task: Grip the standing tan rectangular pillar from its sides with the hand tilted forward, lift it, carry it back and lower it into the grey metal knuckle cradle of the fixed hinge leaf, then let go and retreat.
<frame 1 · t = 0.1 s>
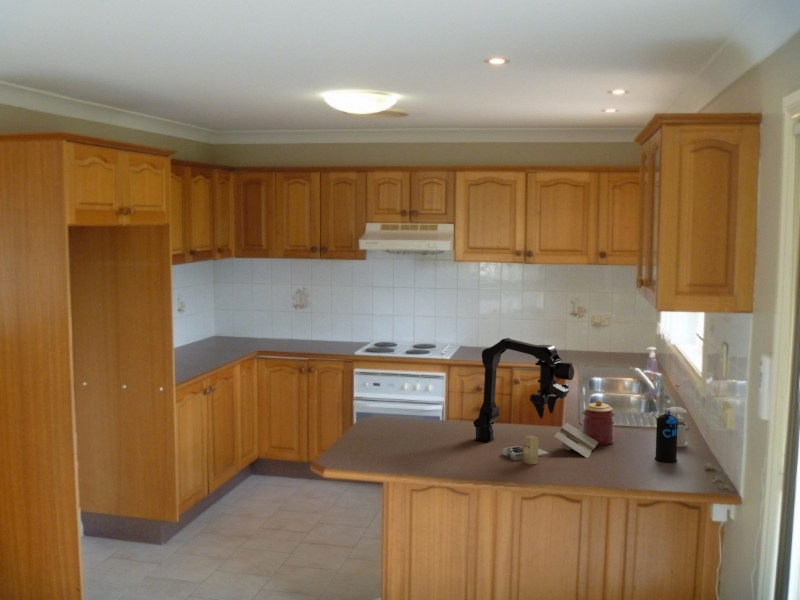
hand: (546, 415, 314), 15 cm above the table, tool pointing down, fingers open, 9 cm apart
canister: (597, 441, 331), on the table
wall: (576, 451, 317), on the table
tan rectangular pillar: (530, 462, 301), on the table
hinge base: (517, 456, 309), on the table
aerosol can: (665, 460, 305), on the table
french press: (674, 442, 328), on the table
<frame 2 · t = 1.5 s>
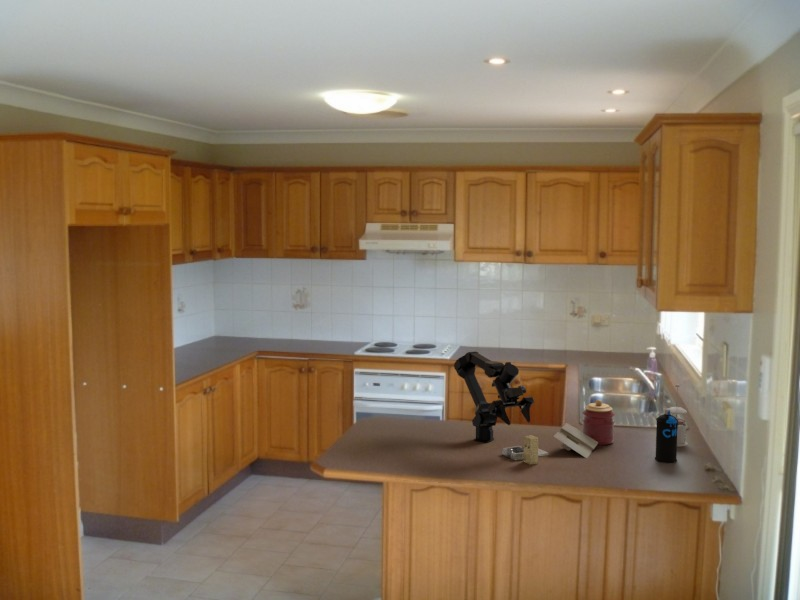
hand: (519, 423, 307), 13 cm above the table, tool tilted 45°, fingers open, 9 cm apart
nothing on the table moved.
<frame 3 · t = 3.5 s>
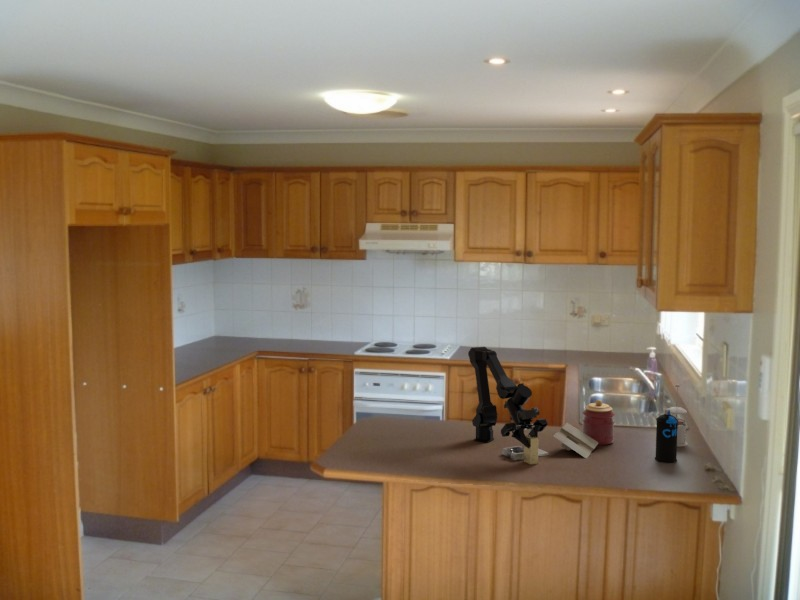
hand: (533, 446, 299), 7 cm above the table, tool tilted 45°, fingers closed on tan rectangular pillar, 4 cm apart
tan rectangular pillar: (530, 462, 301), on the table, touching gripper
everything else where it was.
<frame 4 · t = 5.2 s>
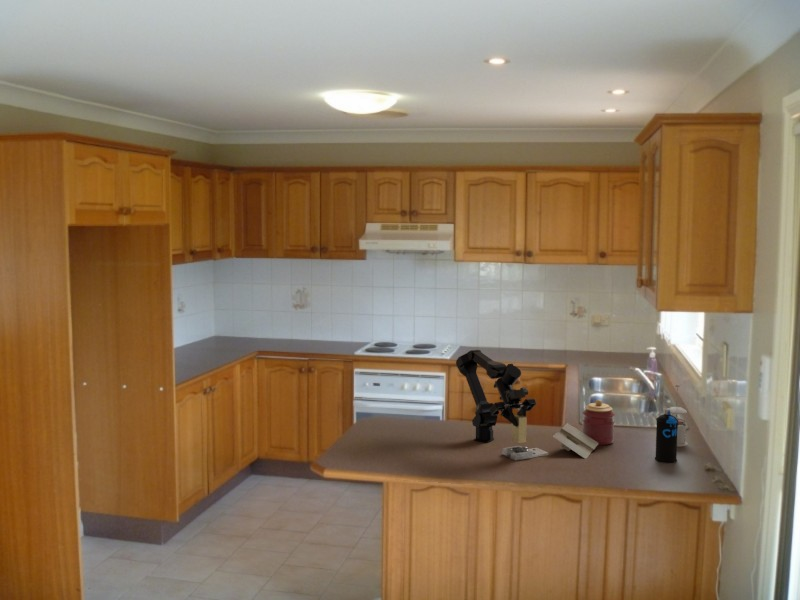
hand: (521, 425, 306), 13 cm above the table, tool tilted 45°, fingers closed on tan rectangular pillar, 4 cm apart
tan rectangular pillar: (519, 441, 308), point 6 cm above the table, touching gripper
everything else where it was.
when the fingers open (8 cm above the table, at t = 6.5 s): tan rectangular pillar drops 2 cm, resting in hinge base.
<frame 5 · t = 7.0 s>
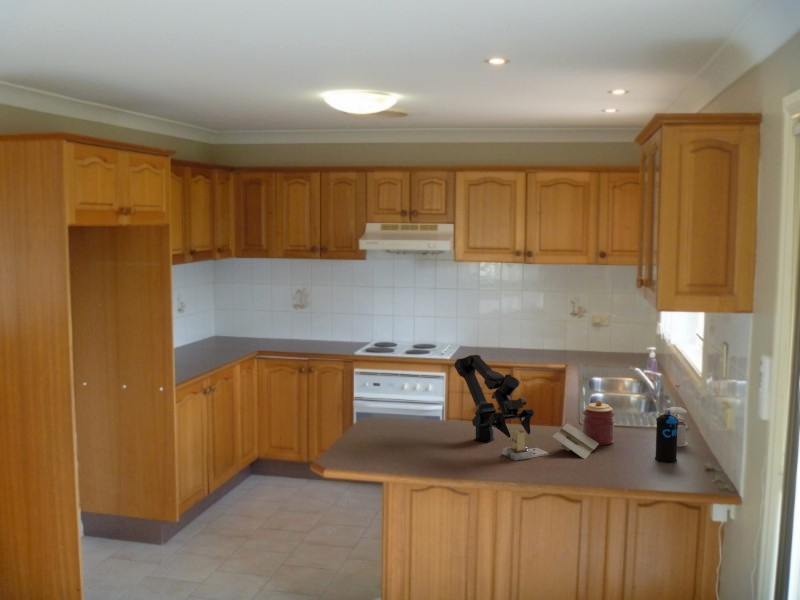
hand: (519, 435, 307), 9 cm above the table, tool tilted 45°, fingers open, 9 cm apart
tan rectangular pillar: (517, 456, 309), resting in hinge base
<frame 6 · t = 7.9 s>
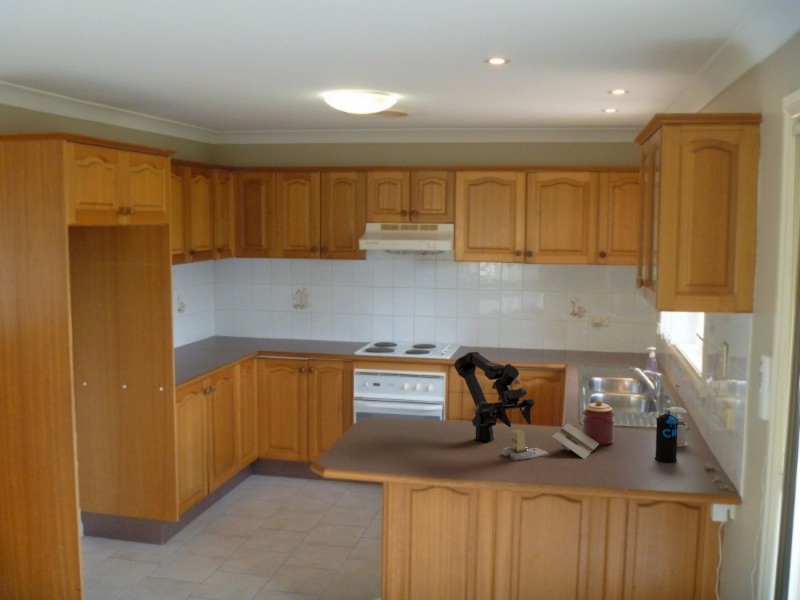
hand: (520, 425, 307), 13 cm above the table, tool tilted 45°, fingers open, 9 cm apart
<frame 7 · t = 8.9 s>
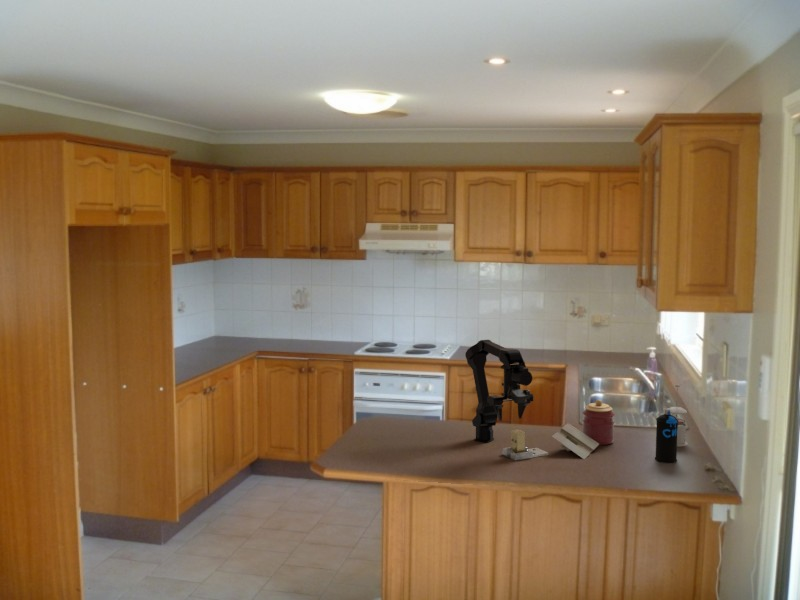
hand: (510, 419, 314), 13 cm above the table, tool pointing down, fingers open, 9 cm apart
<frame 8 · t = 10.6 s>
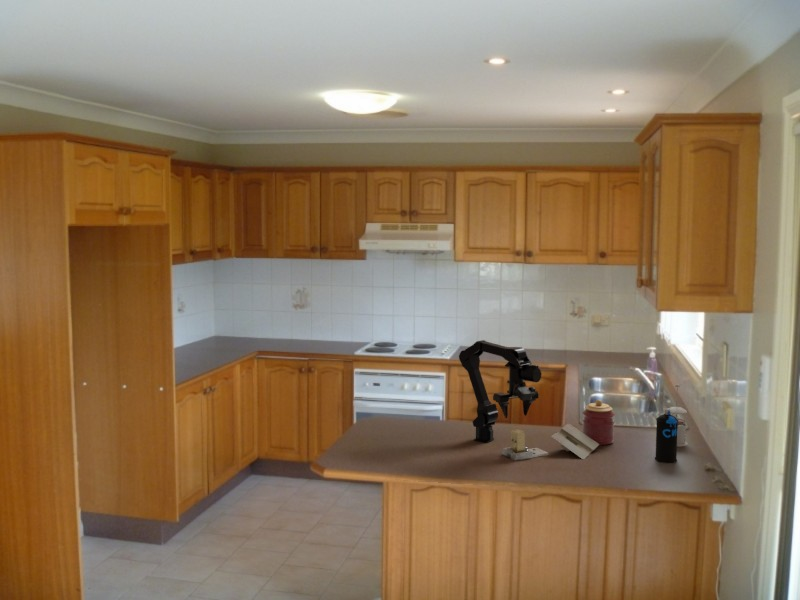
hand: (515, 416, 319), 13 cm above the table, tool pointing down, fingers open, 9 cm apart
at the end: tan rectangular pillar 0.1 cm off-centre on the hinge base, point 0.0 cm above the hinge base's base; tan rectangular pillar tilted 0°; the gripper is holding nothing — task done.
